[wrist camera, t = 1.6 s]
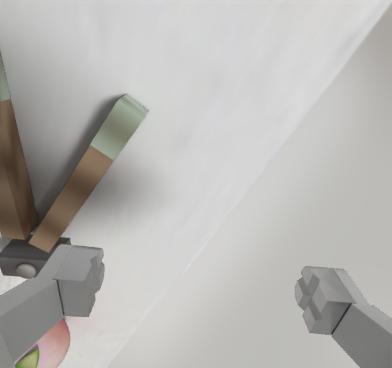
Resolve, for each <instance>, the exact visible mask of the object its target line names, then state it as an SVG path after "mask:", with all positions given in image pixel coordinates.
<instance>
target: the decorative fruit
mask: <svg viewBox="0 0 392 368" xmlns="http://www.w3.org/2000/svg"><path fill="white" fill-rule="evenodd" d="M69 345H70V332H69V329H68V326H67V324H66V322H65V321H64V319H62V320H60V321H59V322H58V323H57V324H56V325H55V326H54V327H53V328H52V329H51V330H49V331H48V332H47V333H46V334H45V335H44V336H43V337H42V338H41V339H40V340H38V341H37V342H36V343H35V344H34V345H33V346H32V347H31V348H30V349H29V350H27V351H26V352H25V353H24V354H23V355H22V356H21V357H20V358H19V359H18V360H16V361H15V362H14V365H15V367H16V368H57V367H58V366H59V365H60V364H61V362H62V361H63V359H64V358H65V356H66V354H67V352H68V349H69Z"/></svg>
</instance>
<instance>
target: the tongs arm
mask: <svg viewBox="0 0 392 368" xmlns="http://www.w3.org/2000/svg"><path fill="white" fill-rule="evenodd" d="M148 112H149V110H148V109H146V108H145V107H144V106H142V105H141V104H140V103H139V102H137V101H136V100H135V99H133V98H132V97H131V96H129V95H128V94H126V95H124V96H123V97H121V98H120V99H119V100H118V101H117V102H116V104H115V105H114V107H113V109H112V110H111V112H110V113H109V115H108V117H107V118H106V120H105V121H104V123H103V124H102V126H101V128H100V129H99V131H98V132H97V134H96V136H95V137H94V139H93V140H92V142H91V143H90V146H89V148H88V149H87V151H86V153H85V154H84V156H83V157H82V159H81V161H80V162H79V164H78V165H77V167H76V168H75V170H74V172H73V173H72V175H71V176H70V178H69V179H68V181H67V183H66V184H65V186H64V187H63V189H62V191H61V192H60V194H59V195H58V197H57V198H56V200H55V202H54V203H53V205H52V206H51V208H50V210H49V211H48V213H47V214H46V216H45V217H44V219H43V221H42V222H41V224H40V225H39V227H38V228H37V230H36V232H35V233H34V235H33V236H32V238H31V240H30V241H29V244H31V245H33V246H35V247H37V248H40V249H42V250H44V251H46V252H48V253H49V252H50V250H51V249H52V247H53V246H54V245H55V243H56V242H57V240H58V239H59V238H60V236H61V235H62V233H63V232H64V231H65V229H66V228H67V226H68V225H69V223H70V222H71V221H72V219H73V218H74V216H75V215H76V213H77V212H78V211H79V209H80V208H81V206H82V205H83V203H84V202H85V201H86V199H87V198H88V196H89V195H90V194H91V192H92V191H93V189H94V188H95V186H96V185H97V184H98V182H99V181H100V179H101V178H102V176H103V175H104V174H105V172H106V171H107V169H108V168H109V166H110V165H111V164H112V162H113V161H114V160H115V159H116V157H117V156H118V154H119V153H120V152H121V150H122V149H123V147H124V146H125V145H126V143H127V142H128V140H129V139H130V137H131V136H132V135H133V133H134V132H135V130H136V129H137V128H138V126H139V125H140V123H141V122H142V120H143V119H144V118H145V116H146V115H147V113H148Z"/></svg>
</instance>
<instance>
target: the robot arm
mask: <svg viewBox="0 0 392 368" xmlns="http://www.w3.org/2000/svg"><path fill="white" fill-rule="evenodd" d="M103 256H104V254H103V249H102V248H96V247H87V246H78V245H66V244H61V245H59V246H58V247H57V248H56V250H55V251H54V252H53V254H52V255H51V257H50V258H49V260H48V261H47V262H46V264H45V265H44V267H43V268H42V269H41V271H40V272H39V274H38V275H37V276H36V278H30V279H28V280H26V281H25V282H23V283H21V284H20V285H18V286H16V287H14V288H13V289H11V290H9V291H8V292H6V293H4V294H2V295H1V296H0V368H16V367H15V365H14V362H15V361H16V360H18V359H19V358H20V357H21V356H22V355H23V354H24V353H25V352H26V351H27V350H29V349H30V348H31V347H32V346H33V345H34V344H35V343H36V342H37V341H38V340H40V339H41V338H42V337H43V336H44V335H45V334H46V333H47V332H48V331H49V330H51V329H52V328H53V327H54V326H55V325H56V324H57V323H58V322H59V321H60V320H62V319H63V318H64V316H77V317H89V315H90V312H91V310H92V307H93V305H94V303H95V293H96V292H97V291H99V290H100V288H101V285H102V282H103V278H104V270H105V268H104V264H103V262H102V258H103ZM301 274H302V276H303V277H302V278H301V279H299V280H298V281H297V283H296V285H295V298H296V301H297V303H298V305H299V306H300V307H301V308H302V309H303V310H304V313H303V318H304V321H305V323H306V326H307V328H308V330H309V333H317V334H326V335H332V337H333V338H334V340H335V341H336V342H337V343H338V344H339V345H340V346H341V347H342V348H343V350H344V351H345V352H346V353H347V354H348V355H349V356H350V357H351V358H352V359H353V360H354V361H355V363H356V364H357V365H358V366H359V367H360V368H392V318H391V317H389V316H388V315H386V314H385V313H384V312H382V311H381V310H380V309H378V308H377V307H375V306H374V305H370V304H369V303H368V302H367V300H366V299H365V297H364V296H363V294H362V293H361V291H360V290H359V289H358V287H357V286H356V284H355V283H354V281H353V280H352V279H351V277H350V276H349V274H348V273H347V272H346V271H345V270H344V269H339V268H324V267H312V266H305V267H304V268H303V269H302V271H301Z"/></svg>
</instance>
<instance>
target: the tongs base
mask: <svg viewBox="0 0 392 368" xmlns="http://www.w3.org/2000/svg"><path fill="white" fill-rule="evenodd" d="M38 224H39V221H38V217H37V212H36V208H35V204H34V199H33V195H32V191H31V186H30V182H29V177H28V173H27V169H26V164H25V160H24V156H23V151H22V147H21V143H20V138H19V134H18V130H17V125H16V121H15V116H14V112H13V108H12V103H11V97H10V92H9V88H8V84H7V79H6V75H5V70H4V66H3V62H2V57H1V53H0V231H1V234H2V237H3V238H10V239H13V240H12V241H11V242H10V243H9V244H8V245H7V246H6V247H5V248H4V249H3V250H2V252H1V253H0V268H1V271H2V273H3V275H7V276H20V277H22V278H26V279H30V278H36V276H37V275H38V274H39V272H40V271H41V269H42V268H43V267H44V265H45V264H46V262H47V261H48V260H49V258H50V257H51V255H52V254H53V252H54V251H55V250H56V248H57V247H58V246H59V245H61V244H66V245H71V242H70V238H62V237H60V238H59V239H58V240H57V242H56V243H55V245H54V246H53V247H52V249H51V250H50V252H49V253H48V252H46V251H44V250H42V249H40V248H37V247H35V246H33V245H31V244H29V241H30V240H31V238H32V236H33V235H29V234H30V233H31V232H32V231H33V230H34V228H35V227H36V226H37V225H38Z"/></svg>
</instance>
